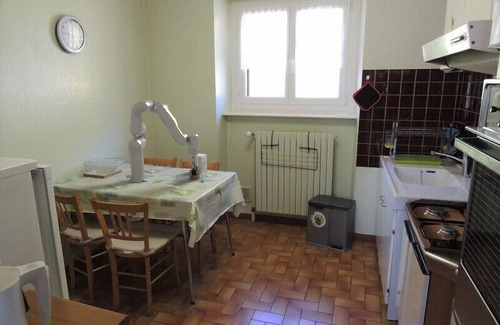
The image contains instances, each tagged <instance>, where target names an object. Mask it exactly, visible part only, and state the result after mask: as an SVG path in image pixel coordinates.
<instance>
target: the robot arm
mask: <svg viewBox="0 0 500 325" xmlns="http://www.w3.org/2000/svg"><path fill="white" fill-rule="evenodd" d="M130 109H131V110H130V124H129V125H130V127H129V132H130V134H131V135H132V139H130V140H129V141H128V144H127V147H128V153H129V154H128V155H129V163H130V164H129V165H130V174H125V178H126V179H129V182H131V183H142V182H146V180H148V178H147V176H146V174H145V172H146V171H145V159H144V152H143V149H144V148H145V146H146V144H147V126H146V124H145V123H144V114H145V113H149V112H150V113H154V114H156V115H157V116H158V118H159V120H161V122H162V123H163V125H164V126H165V128H166V130H167V132H168V134H169V135H170V136H171V138H172V140H173V141H174V142H175V143H176V144H177V145H178V146H186V144H187V149H188V154H189V156H190V157H189V158H190V167H191V170H192V175H196V169H197V166H198V154H200V148H199V147H200V146H199V135H198V134H197V133H182V131H181V130H180V128H179V127H178V123H177V119H176V118H175V117H174V116H173V114H172V113H171V112H170V107H169V106H168V104H167V103H163V102H159V101H155V100H151V99H145V100H140V101H138V102H136V103H134V104H133V105H132V107H131V108H130Z"/></svg>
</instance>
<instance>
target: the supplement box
mask: <svg viewBox="0 0 500 325" xmlns="http://www.w3.org/2000/svg"><path fill="white" fill-rule="evenodd" d="M207 155H208V154H205V153H198V166H197V169H200V174H203V173H208V160H207V159H208V158H207Z"/></svg>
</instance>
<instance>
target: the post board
mask: <svg viewBox="0 0 500 325" xmlns="http://www.w3.org/2000/svg"><path fill="white" fill-rule="evenodd" d="M205 176H206V174H200V178H199V180H190V179H189V174H176V175H175V177H174V179H173V180H172V182H200V183H204V182H205V178H206V177H205Z"/></svg>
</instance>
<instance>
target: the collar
mask: <svg viewBox="0 0 500 325" xmlns="http://www.w3.org/2000/svg"><path fill="white" fill-rule="evenodd" d="M188 173H189V174H188V175H189V179H190V180H199V178H200V175H201V173H200V169H196V175H192V169H189V171H188Z"/></svg>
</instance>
